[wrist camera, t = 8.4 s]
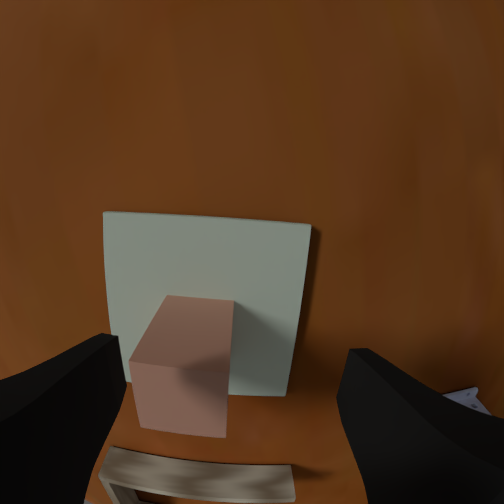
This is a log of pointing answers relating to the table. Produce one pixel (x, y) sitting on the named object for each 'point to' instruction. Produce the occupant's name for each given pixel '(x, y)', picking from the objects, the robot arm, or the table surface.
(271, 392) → the mat
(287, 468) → the slot housing
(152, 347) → the terracotta block
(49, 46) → the table surface
